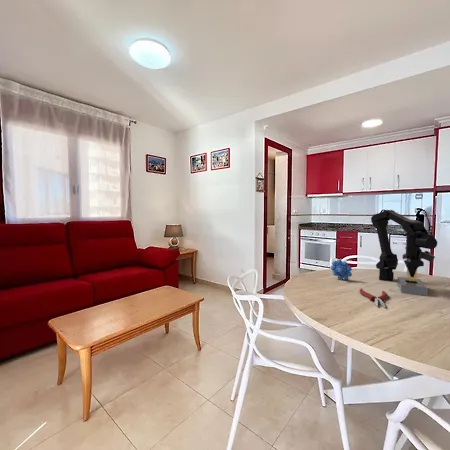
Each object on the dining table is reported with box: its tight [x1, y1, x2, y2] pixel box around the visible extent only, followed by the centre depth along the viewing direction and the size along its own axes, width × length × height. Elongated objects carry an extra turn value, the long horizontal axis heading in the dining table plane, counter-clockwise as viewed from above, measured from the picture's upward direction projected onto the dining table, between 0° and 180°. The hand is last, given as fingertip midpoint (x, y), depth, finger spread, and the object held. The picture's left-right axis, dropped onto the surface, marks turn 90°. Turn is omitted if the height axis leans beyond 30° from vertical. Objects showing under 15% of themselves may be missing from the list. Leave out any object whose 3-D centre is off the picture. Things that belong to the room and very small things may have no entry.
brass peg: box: [406, 267, 418, 281], centre depth 124 cm, size 4×4×8 cm
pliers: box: [358, 288, 388, 308], centre depth 110 cm, size 12×20×3 cm, turn 158°
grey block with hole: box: [396, 276, 428, 297], centre depth 124 cm, size 10×16×4 cm, turn 150°
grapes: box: [330, 258, 353, 281], centre depth 141 cm, size 12×7×12 cm, turn 56°
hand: (411, 276), depth 124 cm, fingers closed on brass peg, 4 cm apart
